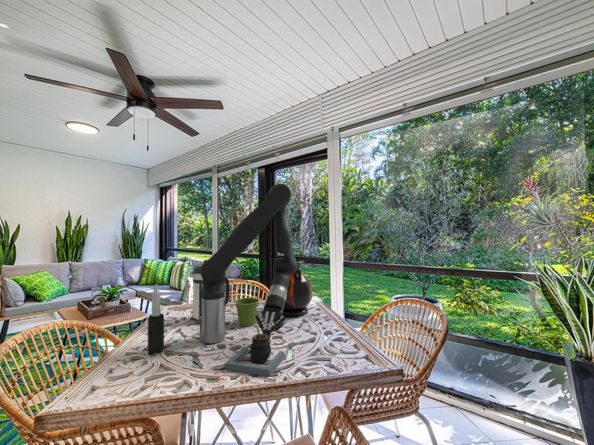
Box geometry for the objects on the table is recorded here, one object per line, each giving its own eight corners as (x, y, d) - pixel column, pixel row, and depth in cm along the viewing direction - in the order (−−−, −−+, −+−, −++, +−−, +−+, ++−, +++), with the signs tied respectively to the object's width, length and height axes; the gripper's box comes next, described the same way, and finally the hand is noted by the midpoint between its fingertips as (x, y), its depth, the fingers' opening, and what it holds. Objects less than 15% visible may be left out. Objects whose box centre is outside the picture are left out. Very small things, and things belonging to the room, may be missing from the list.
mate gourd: (255, 366, 92) (254, 336, 92) (246, 358, 98) (245, 329, 99) (274, 360, 96) (274, 331, 96) (264, 353, 102) (264, 325, 103)
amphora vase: (267, 310, 157) (267, 259, 158) (302, 305, 166) (301, 257, 167) (281, 321, 137) (281, 264, 138) (320, 315, 146) (319, 261, 147)
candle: (149, 349, 106) (149, 283, 107) (164, 347, 108) (164, 282, 109) (147, 355, 101) (147, 285, 102) (162, 353, 103) (163, 284, 104)
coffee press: (214, 325, 132) (214, 261, 133) (184, 323, 135) (183, 261, 136) (230, 314, 149) (229, 258, 150) (202, 313, 152) (202, 257, 153)
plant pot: (229, 327, 129) (229, 303, 129) (241, 319, 140) (240, 297, 141) (253, 329, 126) (253, 304, 126) (263, 321, 138) (263, 298, 138)
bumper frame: (224, 369, 91) (224, 362, 91) (244, 352, 103) (244, 346, 103) (269, 376, 86) (269, 369, 86) (284, 357, 99) (284, 351, 99)
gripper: (258, 292, 112) (244, 335, 100) (289, 294, 108) (279, 338, 96) (263, 302, 117) (251, 344, 105) (294, 304, 113) (284, 347, 101)
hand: (264, 341), depth 101 cm, fingers closed
